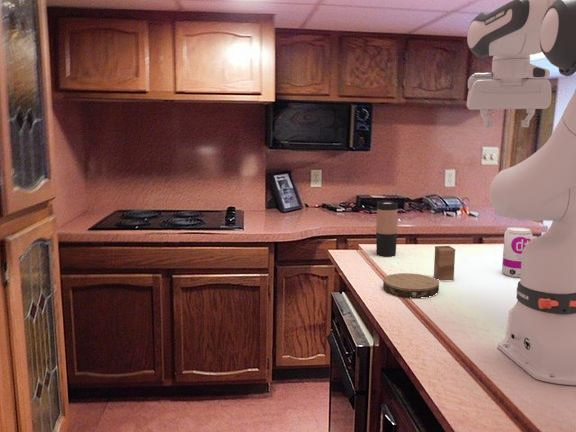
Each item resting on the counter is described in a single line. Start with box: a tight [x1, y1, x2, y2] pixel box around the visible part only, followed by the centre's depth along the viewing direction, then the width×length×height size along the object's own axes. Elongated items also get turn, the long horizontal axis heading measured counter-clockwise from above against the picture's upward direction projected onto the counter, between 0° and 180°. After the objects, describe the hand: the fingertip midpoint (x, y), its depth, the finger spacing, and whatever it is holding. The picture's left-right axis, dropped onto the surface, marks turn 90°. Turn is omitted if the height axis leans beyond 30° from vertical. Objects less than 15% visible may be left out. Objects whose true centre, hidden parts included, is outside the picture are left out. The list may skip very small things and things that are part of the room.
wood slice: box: [382, 272, 440, 299], centre depth 148 cm, size 16×16×3 cm
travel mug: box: [375, 200, 399, 258], centre depth 188 cm, size 8×8×20 cm
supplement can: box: [501, 226, 534, 279], centre depth 161 cm, size 8×8×15 cm
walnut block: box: [433, 245, 456, 281], centre depth 158 cm, size 5×5×10 cm
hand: (506, 127), depth 131 cm, fingers open, 8 cm apart
